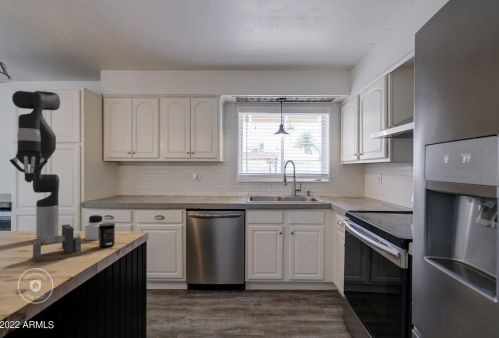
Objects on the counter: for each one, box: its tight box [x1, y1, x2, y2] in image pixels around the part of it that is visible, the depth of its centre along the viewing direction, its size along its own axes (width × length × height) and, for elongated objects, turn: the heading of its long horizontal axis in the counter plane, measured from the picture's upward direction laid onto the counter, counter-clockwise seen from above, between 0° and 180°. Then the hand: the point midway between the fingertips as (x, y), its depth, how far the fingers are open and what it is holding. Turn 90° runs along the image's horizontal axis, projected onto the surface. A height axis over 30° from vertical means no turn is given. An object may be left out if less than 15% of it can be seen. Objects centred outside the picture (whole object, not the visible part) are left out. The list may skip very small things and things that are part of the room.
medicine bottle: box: [84, 214, 103, 241], centre depth 148 cm, size 7×7×12 cm
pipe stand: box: [32, 232, 83, 264], centre depth 119 cm, size 8×16×9 cm, turn 133°
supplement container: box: [98, 222, 116, 249], centre depth 135 cm, size 7×7×10 cm
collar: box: [61, 224, 75, 253], centre depth 121 cm, size 10×2×10 cm, turn 43°
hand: (29, 182), depth 118 cm, fingers closed
